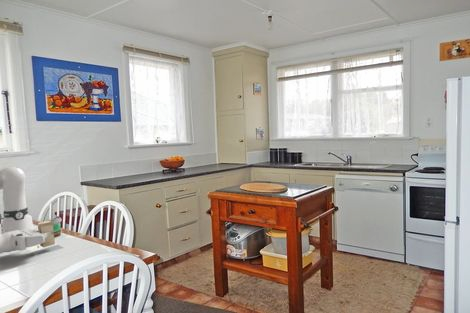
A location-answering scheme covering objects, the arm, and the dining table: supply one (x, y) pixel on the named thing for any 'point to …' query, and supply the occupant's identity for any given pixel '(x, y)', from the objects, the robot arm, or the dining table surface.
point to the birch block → (44, 228)
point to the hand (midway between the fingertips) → (48, 232)
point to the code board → (43, 249)
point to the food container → (56, 226)
